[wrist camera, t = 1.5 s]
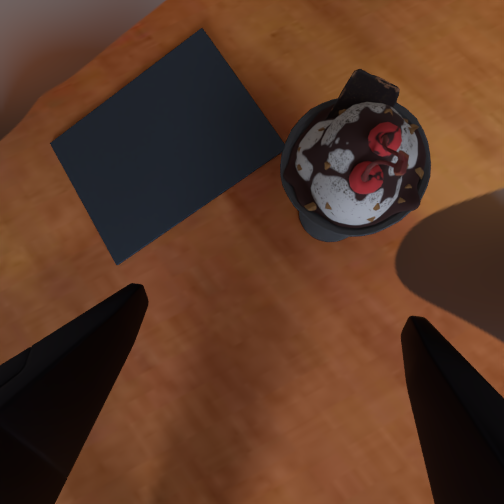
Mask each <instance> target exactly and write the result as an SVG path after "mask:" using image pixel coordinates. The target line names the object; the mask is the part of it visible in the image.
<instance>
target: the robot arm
mask: <svg viewBox="0 0 504 504" xmlns="http://www.w3.org/2000/svg"><path fill="white" fill-rule="evenodd" d="M147 307H148V297H147V295H146V292H145V289H144V286H143V285H141V284H134V283H132V284H129V285H127V286H126V287H124V288H123V289H121V290H119V291H118V292H116V293H115V294H113V295H112V296H110V297H108V298H107V299H105V300H104V301H102V302H100V303H99V304H97V305H96V306H94V307H93V308H91V309H89V310H88V311H86V312H85V313H83V314H81V315H80V316H78V317H77V318H75V319H74V320H72V321H70V322H69V323H67V324H66V325H64V326H62V327H61V328H59V329H58V330H56V331H55V332H53V333H51V334H50V335H48V336H47V337H45V338H43V339H42V340H40V341H39V342H37V343H35V344H34V345H32V347H29V348H27V349H26V350H24V351H23V352H21V353H20V354H18V355H16V356H15V357H13V358H11V359H10V360H8V361H6V362H5V363H3V364H2V365H0V504H55V502H56V500H57V498H58V496H59V494H60V492H61V490H62V488H63V486H64V484H65V482H66V480H67V477H68V476H69V474H70V472H71V470H72V468H73V466H74V464H75V462H76V460H77V458H78V456H79V454H80V452H81V450H82V447H83V445H84V443H85V441H86V439H87V437H88V435H89V433H90V431H91V429H92V427H93V425H94V423H95V421H96V419H97V417H98V415H99V413H100V411H101V409H102V407H103V405H104V403H105V401H106V399H107V397H108V395H109V393H110V391H111V389H112V387H113V385H114V383H115V381H116V379H117V377H118V375H119V373H120V371H121V369H122V367H123V365H124V363H125V361H126V359H127V357H128V355H129V353H130V351H131V349H132V347H133V345H134V342H135V340H136V337H137V334H138V332H139V329H140V326H141V324H142V321H143V318H144V316H145V313H146V310H147ZM401 343H402V352H403V360H404V369H405V377H406V384H407V389H408V394H409V398H410V402H411V407H412V411H413V415H414V419H415V423H416V428H417V432H418V436H419V440H420V444H421V449H422V453H423V457H424V461H425V465H426V470H427V474H428V478H429V482H430V486H431V491H432V495H433V499H434V503H435V504H504V398H503V397H502V396H501V395H500V394H499V393H498V392H497V391H496V390H495V389H494V388H493V387H492V386H491V385H490V384H489V383H488V382H487V381H486V380H485V379H484V378H483V377H482V376H481V375H480V374H479V373H478V372H477V370H476V369H475V368H474V367H473V366H472V365H471V364H470V363H469V362H468V361H467V360H466V359H465V358H464V357H463V356H462V355H461V354H460V353H459V352H458V351H457V350H456V349H455V348H454V347H453V346H452V345H451V344H450V343H449V342H448V341H447V340H446V339H445V338H444V337H443V336H442V335H441V334H440V332H439V331H438V330H437V329H436V328H435V327H434V326H433V325H432V324H431V323H430V322H429V321H428V320H427V319H426V318H424V317H419V316H410V317H409V318H408V320H407V322H406V324H405V326H404V328H403V330H402V333H401Z"/></svg>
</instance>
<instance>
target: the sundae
mask: <svg viewBox="0 0 504 504" xmlns="http://www.w3.org/2000/svg"><path fill="white" fill-rule="evenodd" d="M399 90H400V89H399V88H398V87H397V86H395V85H393V84H391V83H389V82H388V81H386V80H384V79H382V78H380V77H377V76H374V75H371V74H369V73H367V72H366V71H364V70H362V69H358V70H356V71H354V72H353V74H352V75H351V77H350V79H349V80H348V82H347V84H346V85H345V87H344V89H343V90H342V92H341V94H340V96H339V97H338V99H332V100H330V101H327V102H324V103H322V104H320V105H318V106H316V107H314V108H312V109H310V110H309V111H308V112H307V113H306V114H305V115H304V116H303V117H302V118H301V119H300V120H299V121H298V122H297V124H296V125H295V126H294V127H293V128H292V130H291V132H290V134H289V136H288V138H287V141H286V143H285V146H284V149H283V152H282V156H281V164H280V173H281V180H282V185H283V187H284V190H285V192H286V194H287V196H288V197H289V199H290V201H291V202H292V204H293V206H294V207H295V208H296V209H297V210H298V211H299V217H300V221H301V223H302V225H303V227H304V229H305V230H306V231H307V232H308V233H309V234H310V235H311V236H312V237H314V238H316V239H318V240H321V241H325V242H336V241H340V240H343V239H345V238H347V237H352V236H365V235H369V234H374V233H377V232H379V231H381V230H384V229H386V228H388V227H390V226H391V225H393V224H395V223H397V222H399V221H400V220H402V219H403V218H404V217H405V216H406V215H407V214H408V213H409V212H411V211H413V210H415V209H417V208H418V207H419V205H420V202H421V201H420V200H421V199H422V197H423V195H424V193H425V190H426V188H427V186H428V182H429V179H430V171H431V161H430V151H429V145H428V141H427V138H426V136H425V133H424V130H423V129H422V127H421V125H420V124H419V122H418V120H417V118H416V117H415V116H414V115H413V114H411V113H410V112H409V111H408V110H407V109H406V108H404V107H403V106H401V105H400V104H398V103H396V102H397V98H398V96H399Z"/></svg>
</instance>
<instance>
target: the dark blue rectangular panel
mask: <svg viewBox="0 0 504 504" xmlns="http://www.w3.org/2000/svg"><path fill="white" fill-rule="evenodd" d="M50 144H51V146H52V148H53V150H54V152H55V153H56V155H57V157H58V159H59V161H60V163H61V164H62V166H63V168H64V170H65V172H66V174H67V175H68V177H69V179H70V181H71V183H72V185H73V186H74V188H75V190H76V192H77V194H78V196H79V197H80V199H81V201H82V203H83V205H84V206H85V208H86V210H87V212H88V214H89V216H90V217H91V219H92V221H93V223H94V225H95V227H96V228H97V230H98V232H99V234H100V236H101V238H102V239H103V241H104V243H105V245H106V247H107V249H108V250H109V252H110V254H111V256H112V258H113V260H114V261H115V263H116V265H119V264H120V263H122V262H123V261H125V260H126V259H127V258H129V257H130V256H132V255H133V254H135V253H136V252H138V251H139V250H140V249H142V248H143V247H145V246H146V245H148V244H149V243H151V242H152V241H153V240H155V239H156V238H158V237H159V236H161V235H162V234H164V233H165V232H167V231H168V230H169V229H171V228H172V227H174V226H175V225H177V224H178V223H180V222H181V221H182V220H184V219H185V218H187V217H188V216H190V215H191V214H193V213H194V212H196V211H197V210H198V209H200V208H201V207H203V206H204V205H206V204H207V203H209V202H210V201H211V200H213V199H214V198H216V197H217V196H219V195H220V194H222V193H223V192H225V191H226V190H227V189H229V188H230V187H232V186H233V185H235V184H236V183H238V182H239V181H240V180H242V179H243V178H245V177H246V176H248V175H249V174H251V173H252V172H254V171H255V170H256V169H258V168H259V167H261V166H262V165H264V164H265V163H267V162H268V161H269V160H271V159H272V158H274V157H275V156H277V155H278V154H280V153H281V152H283V149H284V146H285V144H284V142H283V141H282V140H281V138H280V137H279V135H278V134H277V133H276V131H275V130H274V128H273V127H272V125H271V124H270V123H269V121H268V120H267V118H266V117H265V116H264V114H263V113H262V111H261V110H260V109H259V107H258V106H257V104H256V103H255V102H254V100H253V99H252V97H251V96H250V94H249V93H248V92H247V90H246V89H245V87H244V86H243V85H242V83H241V82H240V80H239V79H238V78H237V76H236V75H235V73H234V72H233V71H232V69H231V68H230V66H229V65H228V63H227V62H226V61H225V59H224V58H223V56H222V55H221V54H220V52H219V51H218V49H217V48H216V47H215V45H214V44H213V42H212V41H211V39H210V38H209V37H208V35H207V34H206V32H205V31H204V30H203V28H201V29H200V30H198V31H197V32H196V33H194V34H193V35H192V36H190V37H189V38H188V39H187V40H185V41H184V42H183V43H181V44H180V45H179V46H177V47H176V48H175V49H173V50H172V51H171V52H169V53H168V54H167V55H165V56H164V57H163V58H162V59H160V60H159V61H158V62H156V63H155V64H154V65H152V66H151V67H150V68H148V69H147V70H146V71H144V72H143V73H142V74H140V75H139V76H138V77H137V78H135V79H134V80H133V81H131V82H130V83H129V84H127V85H126V86H125V87H123V88H122V89H121V90H119V91H118V92H117V93H116V94H114V95H113V96H112V97H110V98H109V99H108V100H106V101H105V102H104V103H102V104H101V105H100V106H98V107H97V108H96V109H94V110H93V111H92V112H91V113H89V114H88V115H87V116H85V117H84V118H83V119H81V120H80V121H79V122H77V123H76V124H75V125H73V126H72V127H71V128H69V129H68V130H67V131H66V132H64V133H63V134H62V135H60V136H59V137H58V138H56V139H55V140H54V141H52V142H51V143H50Z"/></svg>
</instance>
